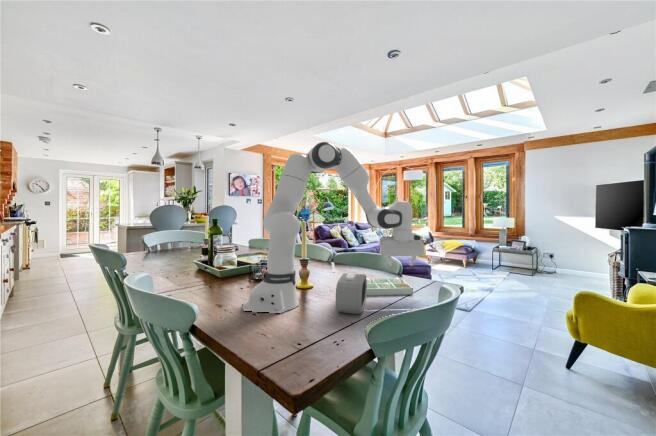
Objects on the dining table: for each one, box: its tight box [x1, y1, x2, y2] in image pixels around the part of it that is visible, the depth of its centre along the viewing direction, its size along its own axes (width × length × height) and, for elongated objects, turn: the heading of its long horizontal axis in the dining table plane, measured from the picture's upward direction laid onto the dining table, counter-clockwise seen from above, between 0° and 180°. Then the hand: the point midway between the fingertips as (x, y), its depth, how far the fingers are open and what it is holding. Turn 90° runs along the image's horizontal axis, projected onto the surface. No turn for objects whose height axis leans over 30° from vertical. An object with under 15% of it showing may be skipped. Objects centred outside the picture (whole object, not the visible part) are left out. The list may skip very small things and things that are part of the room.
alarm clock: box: [335, 272, 368, 315], centre depth 111 cm, size 21×10×13 cm, turn 166°
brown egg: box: [399, 281, 410, 288], centre depth 129 cm, size 4×4×4 cm
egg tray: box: [366, 278, 414, 296], centre depth 132 cm, size 23×16×4 cm
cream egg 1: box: [381, 282, 391, 288], centre depth 128 cm, size 4×4×4 cm
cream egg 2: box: [392, 277, 401, 283], centre depth 136 cm, size 4×4×4 cm
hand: (401, 265), depth 128 cm, fingers open, 8 cm apart
